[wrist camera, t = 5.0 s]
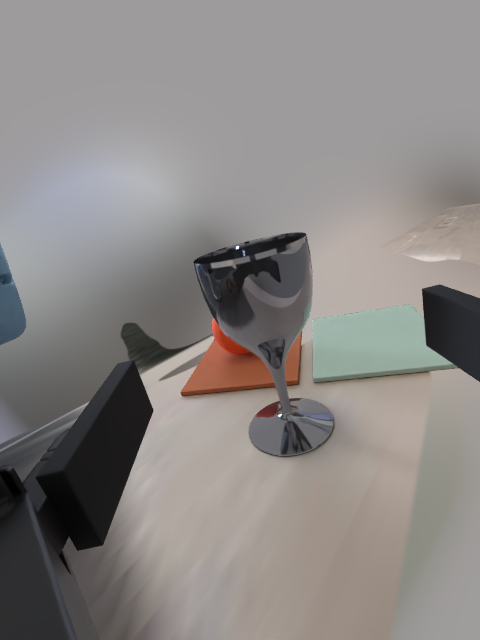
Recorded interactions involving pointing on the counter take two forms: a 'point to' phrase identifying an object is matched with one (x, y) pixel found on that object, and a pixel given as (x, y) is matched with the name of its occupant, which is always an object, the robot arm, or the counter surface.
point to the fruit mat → (238, 371)
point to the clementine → (226, 341)
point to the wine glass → (268, 328)
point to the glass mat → (372, 345)
